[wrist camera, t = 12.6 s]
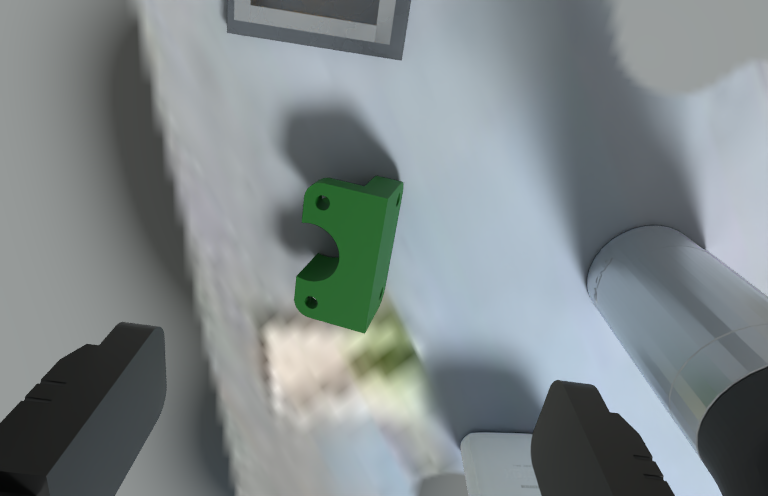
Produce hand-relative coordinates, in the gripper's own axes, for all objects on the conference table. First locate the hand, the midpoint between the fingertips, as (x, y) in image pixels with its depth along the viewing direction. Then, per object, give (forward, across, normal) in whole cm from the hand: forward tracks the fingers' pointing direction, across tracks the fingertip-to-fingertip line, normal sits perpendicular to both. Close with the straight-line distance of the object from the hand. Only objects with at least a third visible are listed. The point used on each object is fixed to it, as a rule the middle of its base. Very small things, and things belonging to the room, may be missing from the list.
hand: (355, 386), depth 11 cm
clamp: (+30, +1, +10) cm, 32 cm away
